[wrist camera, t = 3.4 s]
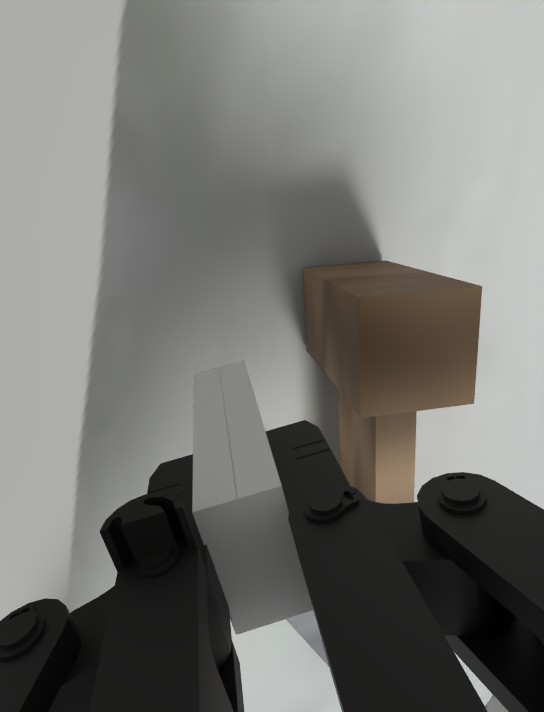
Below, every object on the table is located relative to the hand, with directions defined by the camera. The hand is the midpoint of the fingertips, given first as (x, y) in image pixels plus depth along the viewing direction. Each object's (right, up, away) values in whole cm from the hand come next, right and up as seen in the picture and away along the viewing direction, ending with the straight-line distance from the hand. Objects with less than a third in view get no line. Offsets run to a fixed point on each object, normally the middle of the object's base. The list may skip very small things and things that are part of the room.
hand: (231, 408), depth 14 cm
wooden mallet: (+5, -3, +11) cm, 12 cm away
